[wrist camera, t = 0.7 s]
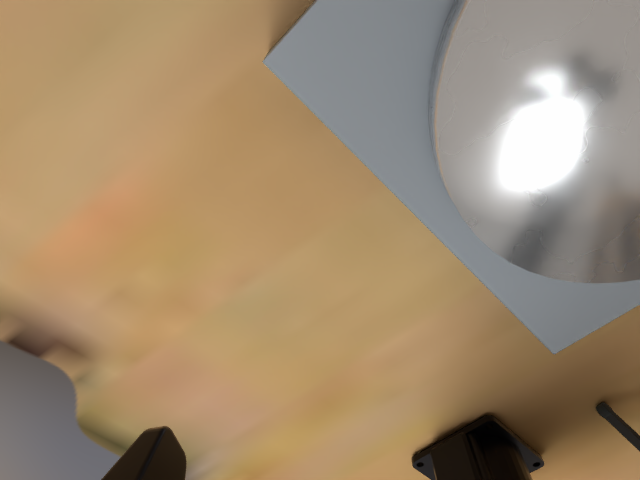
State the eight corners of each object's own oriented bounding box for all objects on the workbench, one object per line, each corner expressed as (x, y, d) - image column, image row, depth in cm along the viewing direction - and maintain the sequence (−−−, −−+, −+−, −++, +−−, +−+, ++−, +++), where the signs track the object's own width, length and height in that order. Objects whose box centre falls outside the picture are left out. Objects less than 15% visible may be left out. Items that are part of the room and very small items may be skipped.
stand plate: (920, 93, 19) (986, 106, 17) (537, 328, 25) (555, 357, 23) (742, -480, 12) (822, -565, 10) (267, 53, 18) (262, 62, 16)
